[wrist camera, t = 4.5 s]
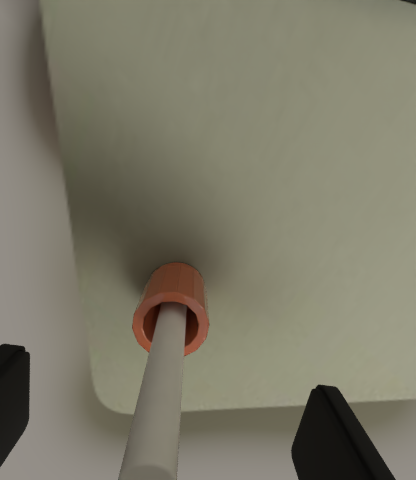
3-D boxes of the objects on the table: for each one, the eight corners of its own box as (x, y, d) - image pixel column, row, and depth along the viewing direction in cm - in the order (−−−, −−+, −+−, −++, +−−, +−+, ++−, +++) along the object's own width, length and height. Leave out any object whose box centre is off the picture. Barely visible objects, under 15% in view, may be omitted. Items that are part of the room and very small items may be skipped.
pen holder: (143, 311, 17) (128, 354, 13) (151, 257, 16) (137, 286, 12) (199, 318, 17) (201, 363, 13) (210, 266, 16) (215, 297, 12)
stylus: (162, 301, 16) (114, 503, 6) (165, 280, 16) (120, 461, 6) (185, 304, 16) (171, 507, 7) (189, 284, 16) (180, 466, 6)
